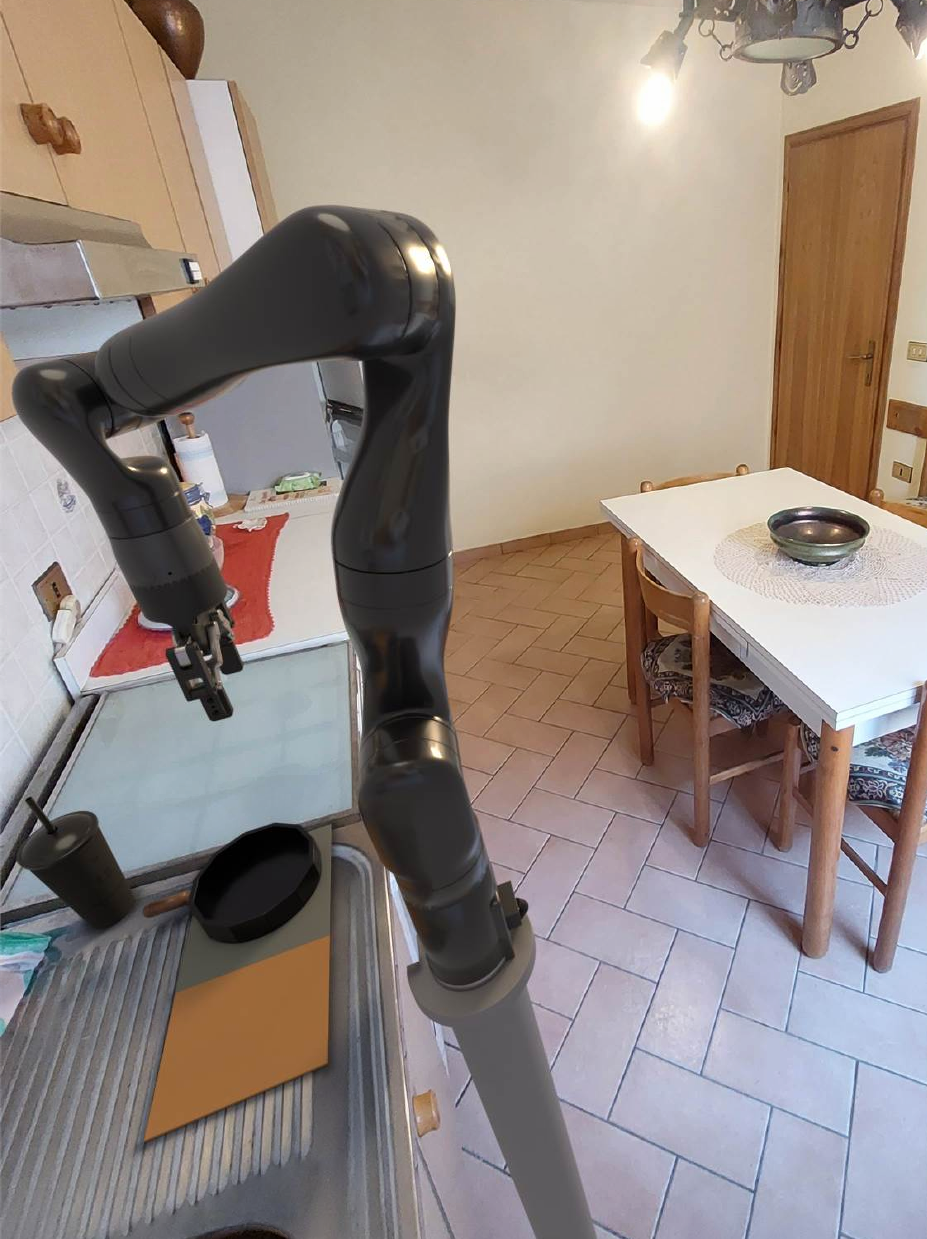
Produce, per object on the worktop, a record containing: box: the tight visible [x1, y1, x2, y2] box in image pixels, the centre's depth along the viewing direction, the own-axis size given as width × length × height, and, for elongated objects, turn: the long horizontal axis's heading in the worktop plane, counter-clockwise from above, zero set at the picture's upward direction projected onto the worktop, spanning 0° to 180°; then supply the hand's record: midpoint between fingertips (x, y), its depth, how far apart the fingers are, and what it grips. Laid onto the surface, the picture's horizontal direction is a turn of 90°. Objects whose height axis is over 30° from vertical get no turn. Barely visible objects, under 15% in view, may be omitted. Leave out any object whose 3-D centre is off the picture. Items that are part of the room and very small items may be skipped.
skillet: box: [142, 822, 322, 944], centre depth 81 cm, size 19×14×4 cm
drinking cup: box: [16, 796, 136, 930], centre depth 77 cm, size 8×8×20 cm
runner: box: [143, 823, 333, 1143], centre depth 75 cm, size 16×31×1 cm, turn 20°
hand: (228, 693), depth 72 cm, fingers open, 8 cm apart
